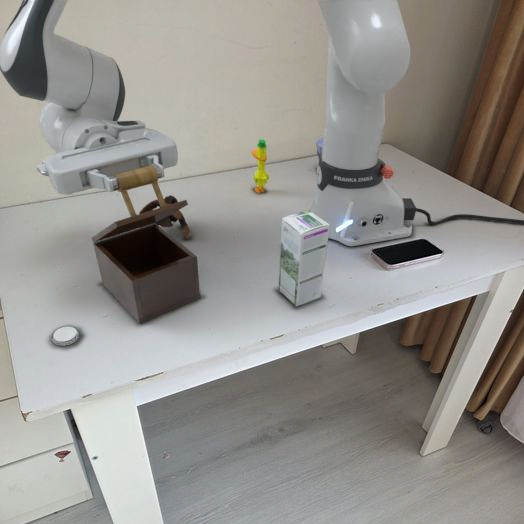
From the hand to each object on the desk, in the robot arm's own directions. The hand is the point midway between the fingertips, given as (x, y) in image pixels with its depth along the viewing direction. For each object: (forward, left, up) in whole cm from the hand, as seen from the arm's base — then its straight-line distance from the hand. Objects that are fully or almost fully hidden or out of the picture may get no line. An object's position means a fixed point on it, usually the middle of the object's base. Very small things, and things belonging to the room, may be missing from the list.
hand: (138, 179), depth 71 cm
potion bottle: (-44, -49, -21) cm, 70 cm away
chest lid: (+1, -2, -8) cm, 8 cm away
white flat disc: (+14, +10, -21) cm, 27 cm away
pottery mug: (-2, -21, -21) cm, 30 cm away
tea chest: (+1, -1, -21) cm, 21 cm away
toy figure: (-24, -39, -21) cm, 51 cm away
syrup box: (-25, +3, -21) cm, 33 cm away
